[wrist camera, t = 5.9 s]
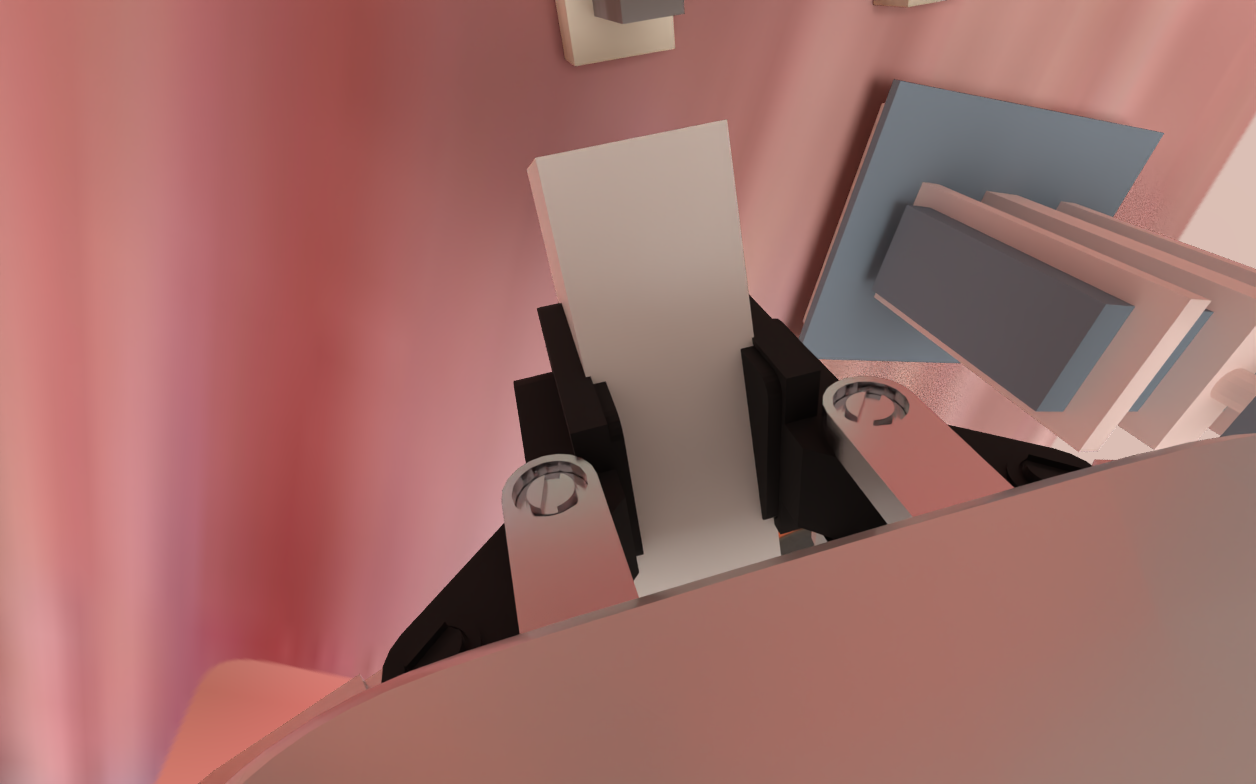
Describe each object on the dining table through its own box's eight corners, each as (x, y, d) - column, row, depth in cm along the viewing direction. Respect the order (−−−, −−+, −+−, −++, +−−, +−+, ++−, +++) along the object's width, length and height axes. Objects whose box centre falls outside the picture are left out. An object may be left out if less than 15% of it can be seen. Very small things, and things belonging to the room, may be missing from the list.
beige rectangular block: (526, 169, 11) (535, 157, 8) (657, 143, 12) (727, 119, 8) (615, 544, 14) (653, 668, 11) (718, 516, 15) (790, 626, 11)
